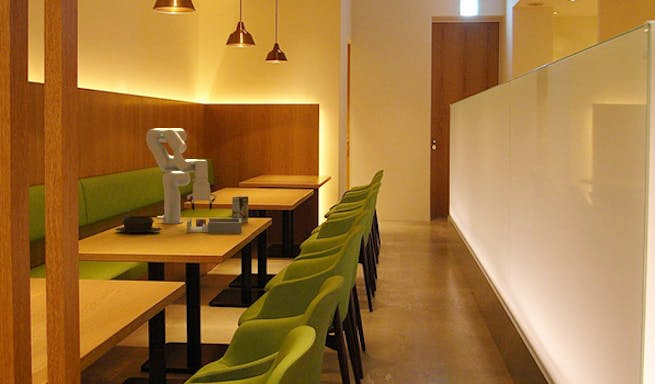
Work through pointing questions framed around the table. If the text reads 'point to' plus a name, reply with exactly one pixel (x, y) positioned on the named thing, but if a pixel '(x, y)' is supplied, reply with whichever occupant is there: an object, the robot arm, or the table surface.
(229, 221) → the frame
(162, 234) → the table surface
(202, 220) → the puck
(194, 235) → the table surface
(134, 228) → the casserole
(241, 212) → the coffee box
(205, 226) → the tray
